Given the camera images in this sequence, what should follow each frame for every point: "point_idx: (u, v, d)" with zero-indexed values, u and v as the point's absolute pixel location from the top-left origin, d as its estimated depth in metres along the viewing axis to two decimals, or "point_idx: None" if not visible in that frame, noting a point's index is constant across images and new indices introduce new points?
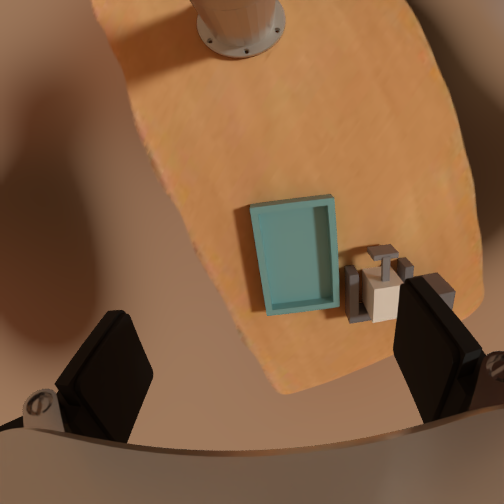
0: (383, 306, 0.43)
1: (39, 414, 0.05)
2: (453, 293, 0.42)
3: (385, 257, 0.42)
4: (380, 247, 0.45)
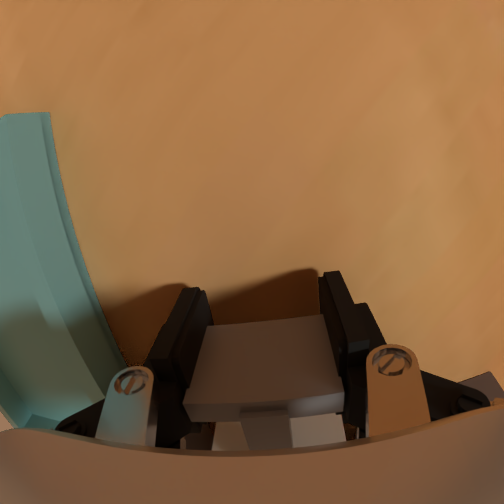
0: None
1: (127, 393, 0.06)
2: None
3: (255, 416, 0.07)
4: (262, 335, 0.09)
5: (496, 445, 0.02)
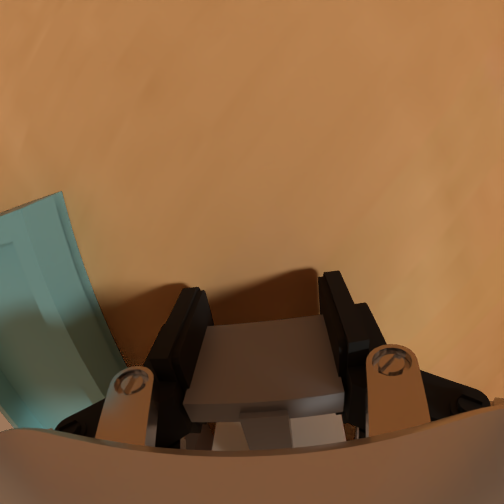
0: None
1: (127, 393, 0.06)
2: None
3: (255, 417, 0.07)
4: (262, 335, 0.09)
5: (496, 445, 0.02)
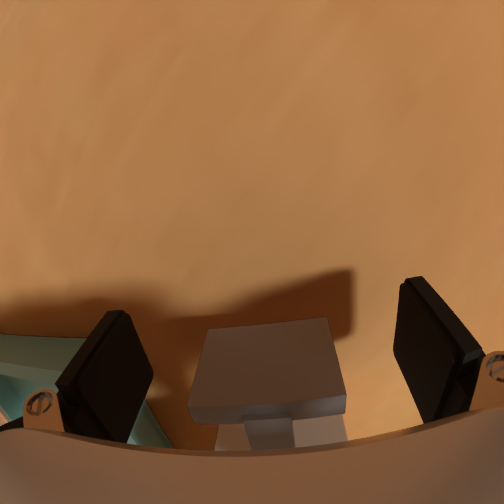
0: None
1: (39, 414, 0.05)
2: None
3: (258, 419, 0.07)
4: (265, 338, 0.09)
5: (496, 445, 0.02)
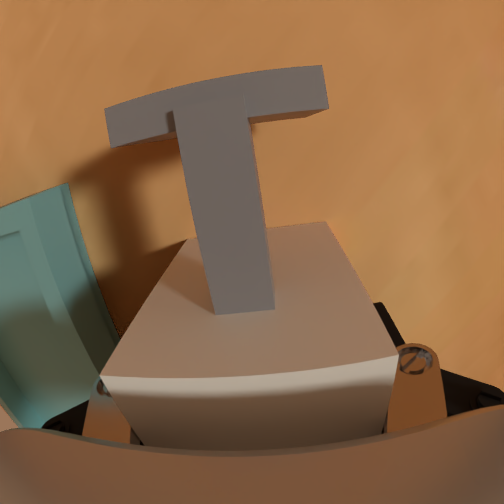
0: None
1: (109, 395, 0.06)
2: None
3: (195, 103, 0.05)
4: None
5: (496, 445, 0.02)
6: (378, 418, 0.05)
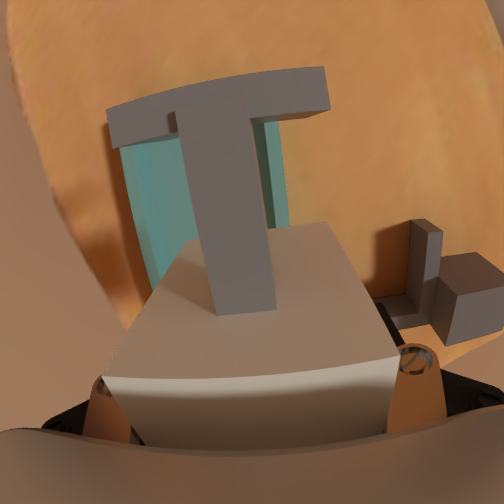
0: None
1: (109, 395, 0.06)
2: None
3: (198, 103, 0.05)
4: None
5: (496, 445, 0.02)
6: (379, 418, 0.05)
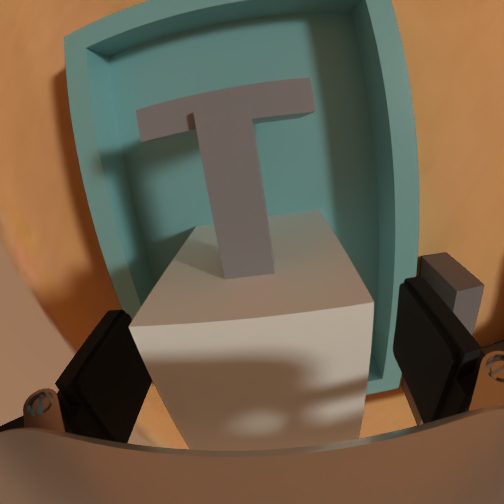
0: (231, 424, 0.07)
1: (39, 414, 0.05)
2: None
3: (211, 107, 0.06)
4: None
5: (496, 445, 0.02)
6: (363, 365, 0.06)
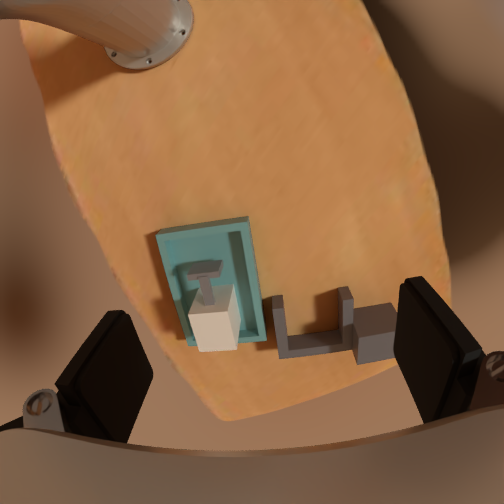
0: (206, 335, 0.38)
1: (39, 414, 0.05)
2: None
3: (201, 277, 0.37)
4: (206, 263, 0.39)
5: (496, 445, 0.02)
6: (229, 322, 0.37)
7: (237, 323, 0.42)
